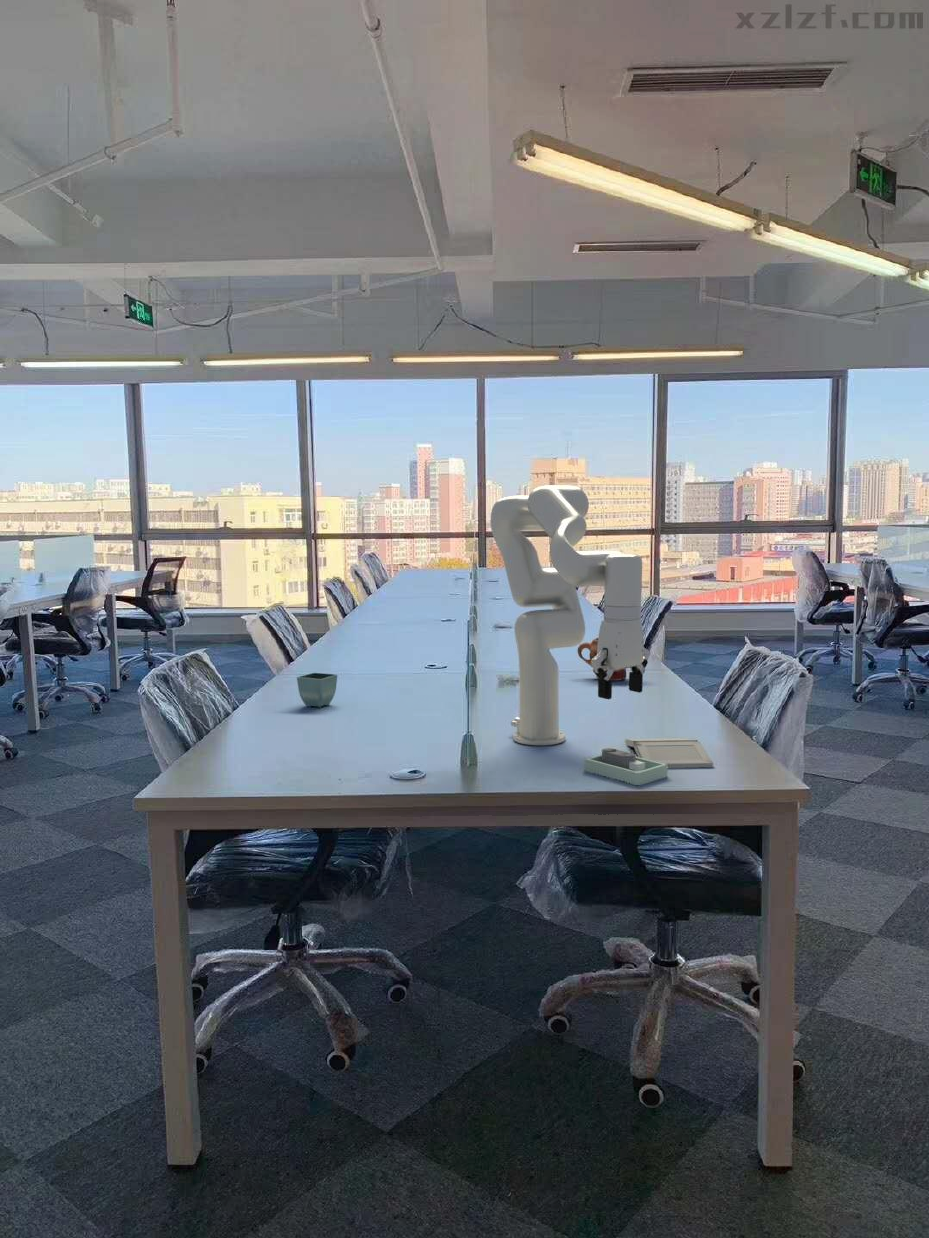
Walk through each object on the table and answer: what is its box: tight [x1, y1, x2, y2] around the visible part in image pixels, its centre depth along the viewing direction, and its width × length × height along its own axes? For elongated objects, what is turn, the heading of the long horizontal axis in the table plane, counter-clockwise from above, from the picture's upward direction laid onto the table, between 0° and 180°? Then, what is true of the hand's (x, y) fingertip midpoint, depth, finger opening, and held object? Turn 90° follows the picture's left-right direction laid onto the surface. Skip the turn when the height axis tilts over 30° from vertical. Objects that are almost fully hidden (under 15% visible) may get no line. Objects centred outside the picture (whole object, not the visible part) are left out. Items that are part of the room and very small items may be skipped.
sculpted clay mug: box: [576, 637, 627, 681], centre depth 295 cm, size 20×12×14 cm, turn 68°
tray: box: [584, 754, 668, 786], centre depth 185 cm, size 14×9×3 cm, turn 40°
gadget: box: [625, 737, 714, 769], centre depth 201 cm, size 23×15×4 cm, turn 0°
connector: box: [601, 747, 645, 771], centre depth 186 cm, size 10×3×4 cm, turn 39°
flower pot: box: [296, 672, 338, 708], centre depth 259 cm, size 9×9×9 cm
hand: (620, 694), depth 185 cm, fingers open, 9 cm apart
